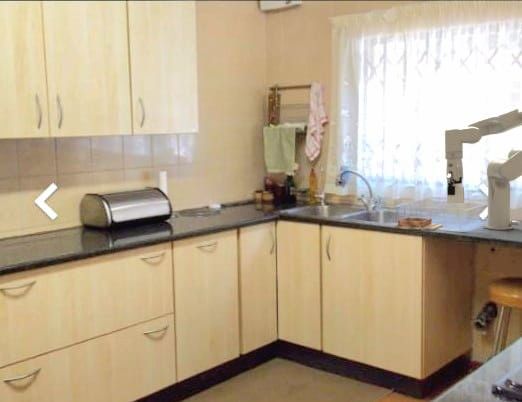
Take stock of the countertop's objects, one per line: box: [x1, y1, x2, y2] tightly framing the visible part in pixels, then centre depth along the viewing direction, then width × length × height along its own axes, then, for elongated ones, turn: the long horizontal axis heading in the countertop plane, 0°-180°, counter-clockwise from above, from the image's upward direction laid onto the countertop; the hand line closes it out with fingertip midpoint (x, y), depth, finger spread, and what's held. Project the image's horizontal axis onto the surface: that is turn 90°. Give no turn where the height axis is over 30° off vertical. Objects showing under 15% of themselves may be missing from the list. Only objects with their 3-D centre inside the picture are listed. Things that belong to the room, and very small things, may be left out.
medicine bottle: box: [446, 177, 465, 204], centre depth 293 cm, size 7×7×12 cm
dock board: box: [395, 216, 444, 232], centre depth 304 cm, size 18×14×4 cm
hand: (454, 193), depth 293 cm, fingers closed on medicine bottle, 8 cm apart
